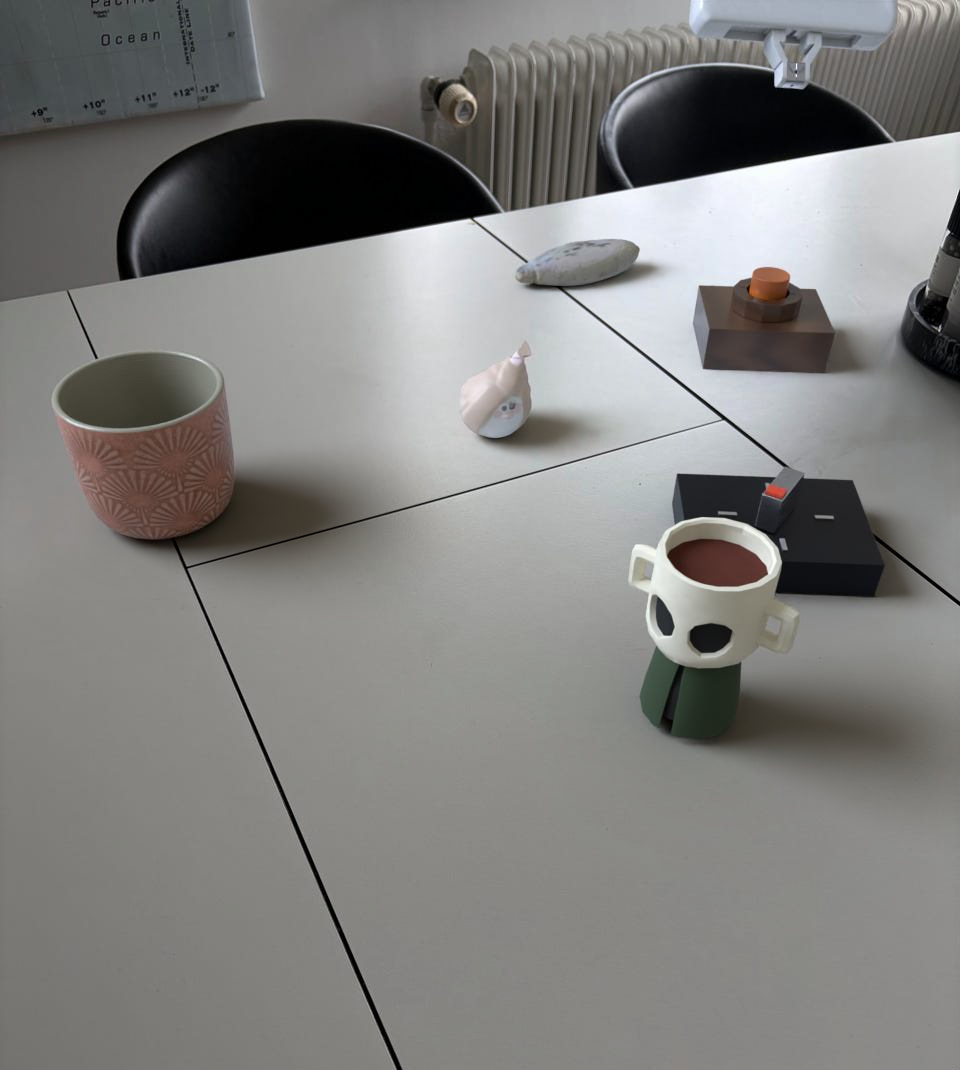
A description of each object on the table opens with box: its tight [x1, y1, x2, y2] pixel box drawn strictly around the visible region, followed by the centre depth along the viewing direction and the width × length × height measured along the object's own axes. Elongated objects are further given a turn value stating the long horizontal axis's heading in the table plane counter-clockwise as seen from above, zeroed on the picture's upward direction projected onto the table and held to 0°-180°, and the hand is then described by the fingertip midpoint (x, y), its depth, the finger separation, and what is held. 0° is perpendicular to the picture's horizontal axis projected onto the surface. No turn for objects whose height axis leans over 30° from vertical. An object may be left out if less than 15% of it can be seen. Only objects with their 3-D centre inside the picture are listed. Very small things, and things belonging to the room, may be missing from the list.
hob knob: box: [755, 466, 805, 533], centre depth 78 cm, size 4×2×3 cm, turn 146°
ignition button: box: [749, 266, 791, 300], centre depth 102 cm, size 4×4×2 cm
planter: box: [51, 348, 235, 540], centre depth 80 cm, size 12×12×11 cm
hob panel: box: [671, 472, 886, 598], centre depth 80 cm, size 14×11×3 cm
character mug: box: [627, 517, 801, 740], centre depth 64 cm, size 11×7×13 cm, turn 53°
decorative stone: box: [514, 238, 641, 287], centre depth 117 cm, size 6×16×3 cm, turn 116°
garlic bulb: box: [458, 339, 533, 439], centre depth 91 cm, size 7×6×8 cm
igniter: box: [692, 277, 836, 374], centre depth 104 cm, size 12×10×6 cm
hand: (792, 85), depth 102 cm, fingers closed
